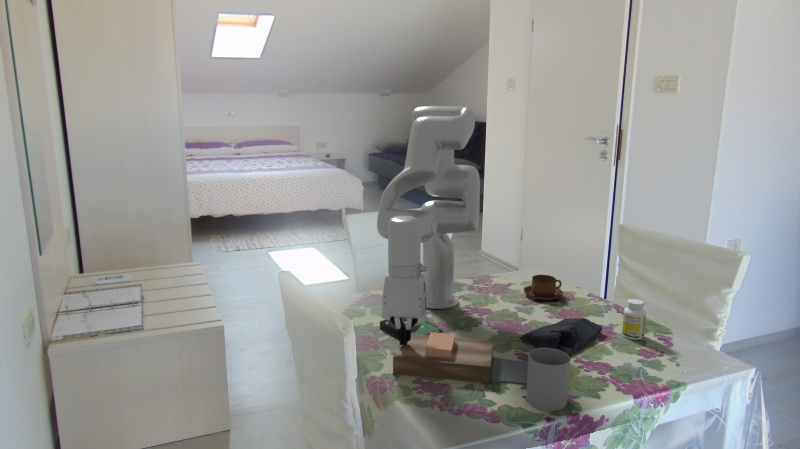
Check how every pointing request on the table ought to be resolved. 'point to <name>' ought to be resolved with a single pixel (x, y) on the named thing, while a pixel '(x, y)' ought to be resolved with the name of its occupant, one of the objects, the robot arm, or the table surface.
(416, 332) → the disk drive
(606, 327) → the table surface
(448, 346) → the tile
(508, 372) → the mat
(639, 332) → the supplement bottle
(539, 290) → the cup and saucer
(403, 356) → the board
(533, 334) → the dark slate chunk
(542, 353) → the cup
